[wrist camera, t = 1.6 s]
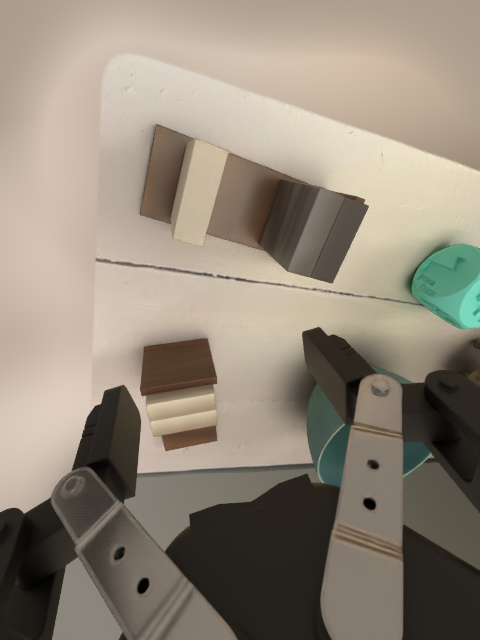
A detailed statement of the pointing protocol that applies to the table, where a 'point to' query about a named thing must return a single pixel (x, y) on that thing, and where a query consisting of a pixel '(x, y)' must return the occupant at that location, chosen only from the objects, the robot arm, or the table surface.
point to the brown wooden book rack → (180, 393)
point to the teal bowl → (344, 438)
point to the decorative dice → (451, 285)
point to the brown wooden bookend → (261, 209)
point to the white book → (197, 191)
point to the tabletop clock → (476, 377)
